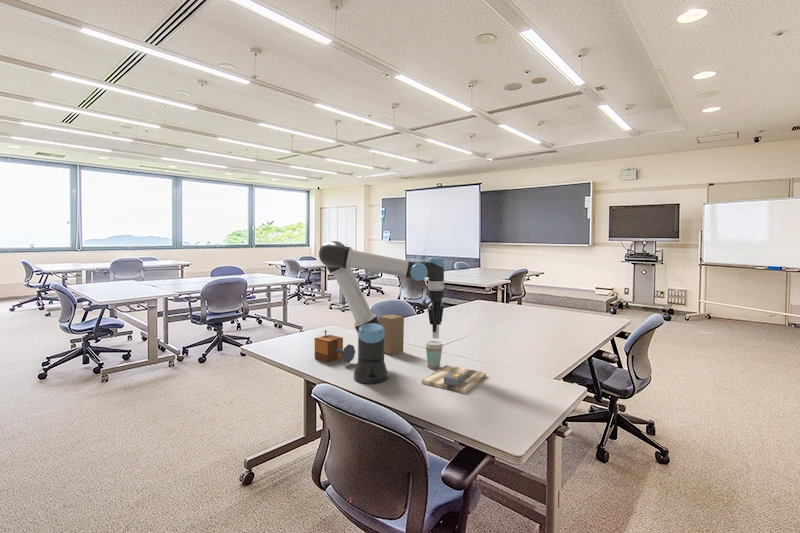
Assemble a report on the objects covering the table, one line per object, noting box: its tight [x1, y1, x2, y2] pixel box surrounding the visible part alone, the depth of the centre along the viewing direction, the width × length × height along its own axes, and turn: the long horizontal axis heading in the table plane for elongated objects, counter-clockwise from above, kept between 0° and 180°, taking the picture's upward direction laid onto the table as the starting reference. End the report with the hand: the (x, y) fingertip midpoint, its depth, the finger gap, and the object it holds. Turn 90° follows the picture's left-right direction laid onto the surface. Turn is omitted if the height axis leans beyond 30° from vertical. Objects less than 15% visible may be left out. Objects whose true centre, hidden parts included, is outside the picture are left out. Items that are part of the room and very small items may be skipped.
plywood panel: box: [421, 364, 487, 394], centre depth 173 cm, size 20×25×2 cm
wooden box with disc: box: [314, 329, 356, 364], centre depth 199 cm, size 11×20×14 cm, turn 51°
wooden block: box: [378, 313, 405, 356], centre depth 215 cm, size 10×10×20 cm
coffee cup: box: [424, 340, 444, 370], centre depth 190 cm, size 8×9×12 cm
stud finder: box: [444, 372, 465, 387], centre depth 165 cm, size 6×8×3 cm
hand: (435, 338), depth 188 cm, fingers closed
